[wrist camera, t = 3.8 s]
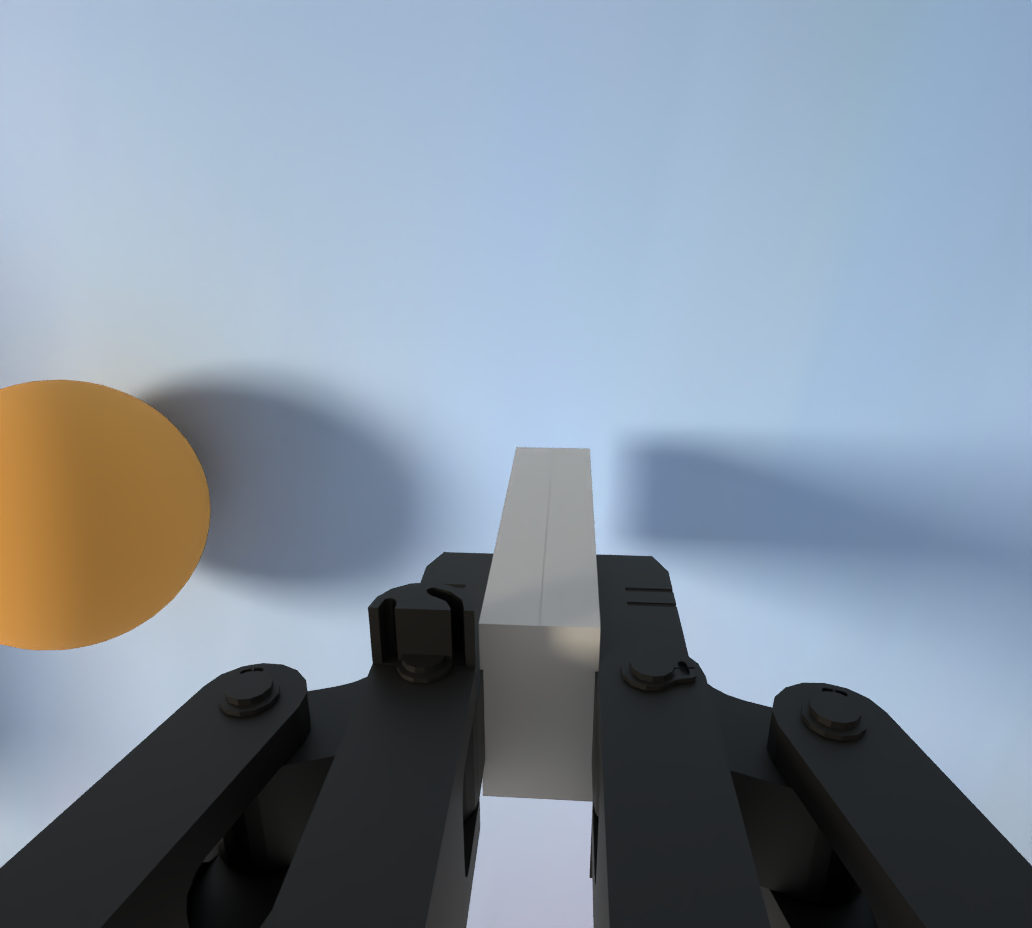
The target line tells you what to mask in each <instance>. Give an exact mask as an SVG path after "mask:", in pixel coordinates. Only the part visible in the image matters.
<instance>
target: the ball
mask: <svg viewBox="0 0 1032 928" xmlns="http://www.w3.org/2000/svg"><path fill="white" fill-rule="evenodd" d="M209 525H210V499H209V489H208V485H207V481H206V477H205V474H204V471H203V469H202V466H201V464H200V462H199V460H198V458H197V456H196V454H195V452H194V450H193V449H192V447H191V446H190V444H189V443H188V441H187V440H186V438H185V437H184V436H183V435H182V434H181V433H180V431H179V430H178V429H177V428H176V427H175V426H174V425H173V424H172V423H171V422H170V421H169V420H168V419H167V418H166V417H165V416H163V415H162V414H161V413H159V412H158V411H157V410H155V409H154V408H153V407H151V406H149V405H148V404H146V403H144V402H143V401H141V400H139V399H137V398H135V397H133V396H131V395H129V394H126V393H124V392H121V391H118V390H116V389H113V388H110V387H107V386H103V385H99V384H94V383H89V382H81V381H71V380H46V381H33V382H28V383H22V384H17V385H13V386H10V387H6V388H2V389H0V644H2V645H7V646H11V647H16V648H21V649H30V650H66V649H73V648H79V647H84V646H89V645H93V644H97V643H100V642H104V641H107V640H109V639H112V638H114V637H117V636H119V635H122V634H124V633H126V632H128V631H131V630H132V629H134V628H136V627H137V626H139V625H141V624H142V623H144V622H145V621H147V620H148V619H150V618H152V617H153V616H154V615H156V614H157V613H158V612H159V611H160V610H161V609H162V608H164V607H165V606H166V605H167V604H168V603H169V602H170V601H171V600H173V599H174V597H175V596H176V595H177V594H178V593H179V591H180V590H181V589H182V588H183V586H184V585H185V584H186V582H187V581H188V580H189V579H190V577H191V575H192V573H193V571H194V570H195V568H196V566H197V564H198V562H199V560H200V558H201V555H202V553H203V550H204V547H205V544H206V540H207V535H208V530H209Z"/></svg>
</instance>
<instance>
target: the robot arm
mask: <svg viewBox="0 0 1032 928" xmlns="http://www.w3.org/2000/svg"><path fill="white" fill-rule="evenodd" d="M368 612H369V624H370V636H371V648H372V660H373V664H372V667H371V669H370V672H369V674H368V677H366V678H363V679H361V680H358V681H356V682H353V683H349V684H345V685H341V686H336V687H331V688H325V689H319V690H313V691H307V684H306V680H305V679H304V677H303V676H302V675H301V674H300V673H299V672H298V671H297V670H295V669H292V668H290V667H287V666H285V665H281V664H266V663H262V664H254V665H248V666H243V667H240V668H237V669H235V670H232V671H229V672H227V673H224V674H221V675H220V676H218V677H217V678H215V679H214V680H213V681H211V682H210V683H208V684H207V685H205V686H204V687H203V688H202V689H200V690H199V691H198V692H197V693H196V694H195V695H194V696H193V697H191V698H190V699H189V700H188V701H187V702H186V703H185V704H184V705H183V706H181V707H180V708H179V709H178V710H177V711H176V712H175V713H174V714H172V715H171V716H170V717H169V718H168V719H167V720H166V721H165V722H164V723H162V724H161V725H160V726H159V727H158V728H157V729H156V730H155V731H153V732H152V733H151V734H150V735H149V736H148V737H147V738H146V739H144V740H143V741H142V742H141V743H140V744H139V745H138V746H137V747H136V748H134V749H133V750H132V751H131V752H130V753H129V754H128V755H127V756H125V757H124V758H123V759H122V760H121V761H120V762H119V763H118V764H116V765H115V766H114V767H113V768H112V769H111V770H110V771H109V772H108V773H106V774H105V775H104V776H103V777H102V778H101V779H100V780H99V781H97V782H96V783H95V784H94V785H93V786H92V787H91V788H90V789H89V790H87V791H86V792H85V793H84V794H83V795H82V796H81V797H80V798H78V799H77V800H76V801H75V802H74V803H73V804H72V805H71V806H69V807H68V808H67V809H66V810H65V811H64V812H63V813H62V814H61V815H59V816H58V817H57V818H56V819H55V820H54V821H53V822H52V823H50V824H49V825H48V826H47V827H46V828H45V829H44V830H43V831H41V832H40V833H39V834H38V835H37V836H36V837H35V838H34V839H33V840H31V841H30V842H29V843H28V844H27V845H26V846H25V847H24V848H22V849H21V850H20V851H19V852H18V853H17V854H16V855H15V856H14V857H12V858H11V859H10V860H9V861H8V862H7V863H6V864H5V865H3V866H2V867H1V868H0V928H466V925H467V918H468V911H469V903H470V896H471V889H472V882H473V875H474V868H475V861H476V854H477V847H478V839H479V832H480V803H479V797H480V790H481V784H482V777H483V796H497V797H516V798H536V799H555V800H574V801H593V809H592V833H591V857H590V878H593V918H594V928H1032V866H1031V864H1030V863H1029V862H1028V861H1027V860H1026V859H1025V858H1024V857H1023V856H1022V855H1021V854H1020V853H1019V852H1018V851H1017V850H1016V849H1015V848H1014V847H1013V845H1012V844H1011V843H1010V842H1009V841H1008V840H1007V839H1006V838H1005V837H1004V836H1003V835H1002V834H1001V833H1000V832H999V831H998V830H997V829H996V828H995V827H994V825H993V824H992V823H991V822H990V821H989V820H988V819H987V818H986V817H985V816H984V815H983V814H982V813H981V812H980V811H979V810H978V809H977V808H976V806H975V805H974V804H973V803H972V802H971V801H970V800H969V799H968V798H967V797H966V796H965V795H964V794H963V793H962V792H961V791H960V790H959V789H958V787H957V786H956V785H955V784H954V783H953V782H952V781H951V780H950V779H949V778H948V777H947V776H946V775H945V774H944V773H943V772H942V771H941V770H940V768H939V767H938V766H937V765H936V764H935V763H934V762H933V761H932V760H931V759H930V758H929V757H928V756H927V755H926V754H925V753H924V752H923V751H922V749H921V748H920V747H919V746H918V745H917V744H916V743H915V742H914V741H913V740H912V739H911V738H910V737H909V736H908V735H907V734H906V733H905V732H904V731H903V729H902V728H901V727H900V726H899V725H898V724H897V723H896V722H895V721H894V720H893V719H892V718H891V717H890V716H889V715H888V714H887V713H886V712H885V711H884V710H883V709H881V708H880V707H879V706H878V705H876V704H875V703H874V702H873V701H871V700H870V699H869V698H867V697H864V696H862V695H860V694H858V693H856V692H854V691H852V690H849V689H847V688H843V687H839V686H834V685H830V684H826V683H800V684H797V685H793V686H790V687H786V688H785V689H783V690H782V691H781V692H780V693H779V694H778V695H777V696H775V698H774V703H773V708H771V707H767V706H763V705H759V704H755V703H751V702H748V701H744V700H741V699H738V698H735V697H732V696H729V695H726V694H724V693H722V692H721V691H719V690H717V689H715V688H713V687H712V686H710V685H709V684H707V680H706V676H705V675H704V673H703V671H702V669H701V668H700V666H699V664H698V663H696V662H695V661H694V660H693V659H691V658H690V657H689V656H688V652H687V647H686V643H685V639H684V635H683V631H682V627H681V623H680V618H679V614H678V610H677V607H676V602H675V598H674V593H673V592H672V585H671V581H670V577H669V573H668V571H667V570H666V569H665V568H664V567H663V566H662V565H661V564H660V563H659V562H658V561H657V560H656V559H654V558H653V557H652V556H626V555H596V544H595V528H594V511H593V494H592V477H591V460H590V449H579V448H530V447H516V451H515V456H514V461H513V465H512V470H511V475H510V479H509V484H508V489H507V493H506V498H505V503H504V508H503V512H502V517H501V522H500V526H499V531H498V536H497V540H496V545H495V550H494V554H485V553H452V552H444V553H443V554H441V555H440V556H439V557H438V558H436V559H435V560H434V561H433V562H432V563H430V564H429V565H428V566H427V567H426V570H425V572H424V575H423V577H422V580H421V583H414V584H408V585H404V586H400V587H396V588H393V589H391V590H389V591H387V592H385V593H383V594H381V595H380V596H378V597H377V598H376V599H375V600H374V601H373V602H372V603H371V605H370V606H369V607H368Z"/></svg>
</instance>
